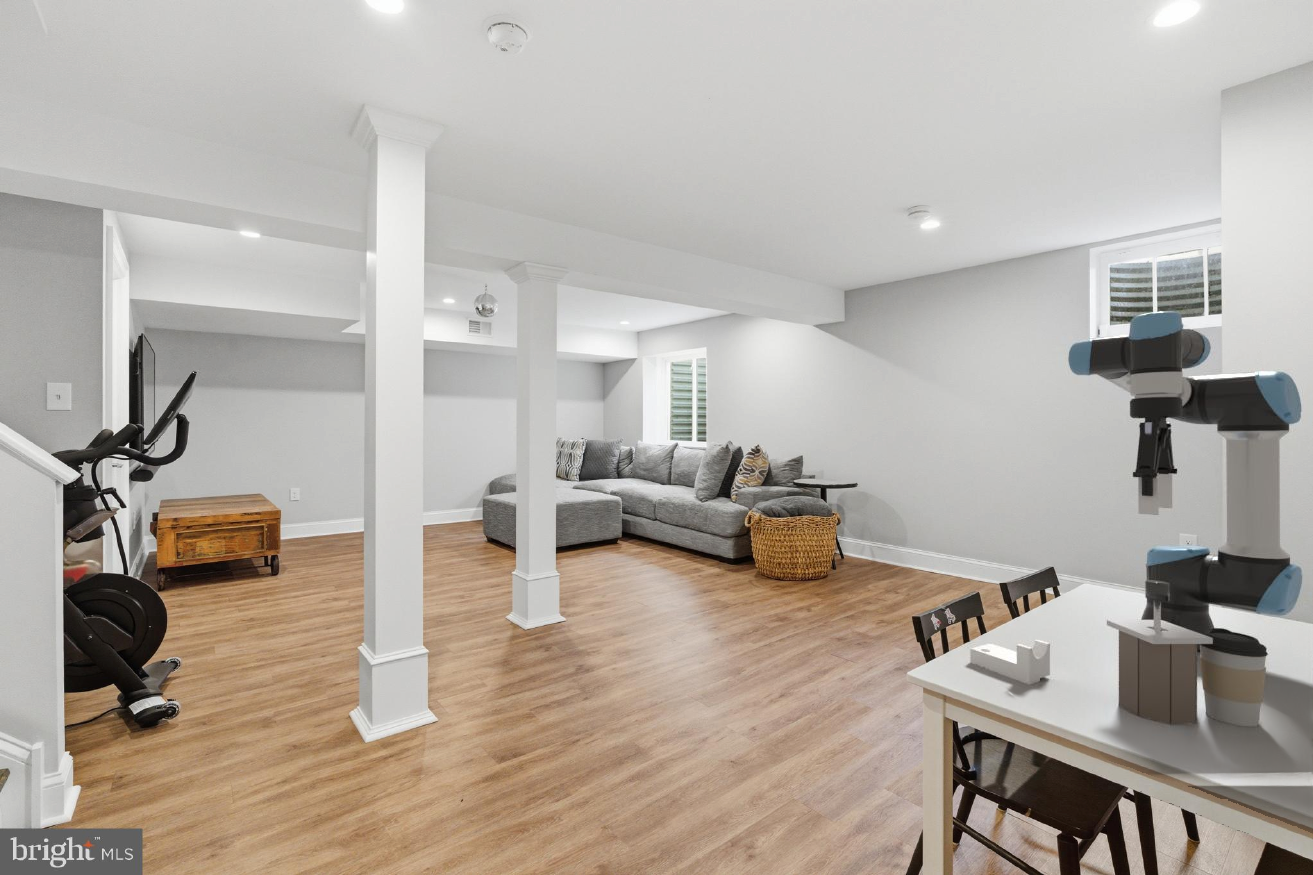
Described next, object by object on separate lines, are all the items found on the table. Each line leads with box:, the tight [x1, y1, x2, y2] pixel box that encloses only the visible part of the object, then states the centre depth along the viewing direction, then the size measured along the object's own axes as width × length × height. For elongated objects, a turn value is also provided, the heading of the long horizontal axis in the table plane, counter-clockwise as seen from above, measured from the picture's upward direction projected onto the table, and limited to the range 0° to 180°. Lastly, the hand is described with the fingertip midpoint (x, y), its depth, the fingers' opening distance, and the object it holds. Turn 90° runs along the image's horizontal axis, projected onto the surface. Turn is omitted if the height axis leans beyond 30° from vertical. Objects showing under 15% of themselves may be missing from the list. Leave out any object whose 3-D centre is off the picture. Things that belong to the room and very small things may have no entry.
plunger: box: [1144, 579, 1169, 631], centre depth 111 cm, size 7×7×19 cm
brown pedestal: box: [1106, 619, 1213, 725], centre depth 111 cm, size 11×11×15 cm
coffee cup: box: [1199, 627, 1269, 727], centre depth 108 cm, size 9×9×15 cm
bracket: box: [969, 639, 1051, 685], centre depth 130 cm, size 13×7×8 cm, turn 27°
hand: (1155, 511), depth 112 cm, fingers open, 13 cm apart
